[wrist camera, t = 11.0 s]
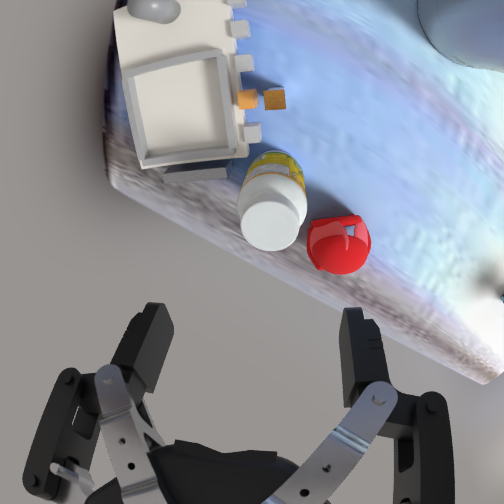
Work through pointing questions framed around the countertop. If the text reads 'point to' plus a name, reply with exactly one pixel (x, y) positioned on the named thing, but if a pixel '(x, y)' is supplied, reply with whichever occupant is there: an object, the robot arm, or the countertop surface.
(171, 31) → the toothed carriage
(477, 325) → the countertop surface
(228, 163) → the index track
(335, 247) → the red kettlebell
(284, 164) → the supplement bottle
